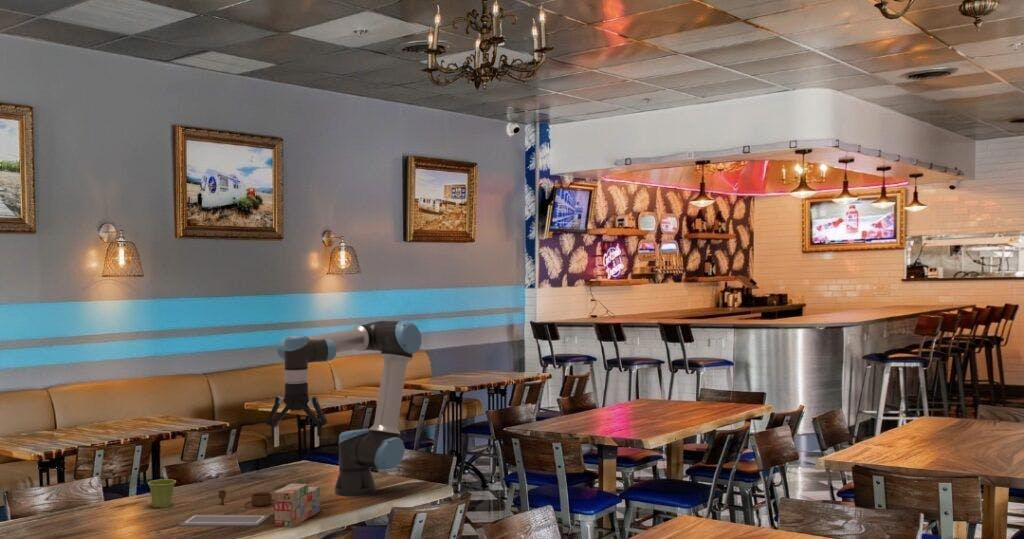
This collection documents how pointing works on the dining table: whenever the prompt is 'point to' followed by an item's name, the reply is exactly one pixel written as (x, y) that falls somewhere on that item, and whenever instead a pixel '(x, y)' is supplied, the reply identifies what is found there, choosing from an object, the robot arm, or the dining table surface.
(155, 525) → the dining table surface
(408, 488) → the dining table surface
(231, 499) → the dining table surface
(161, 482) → the plant pot
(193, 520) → the blueprint baseplate
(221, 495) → the place setting
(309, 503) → the stack of blocks
